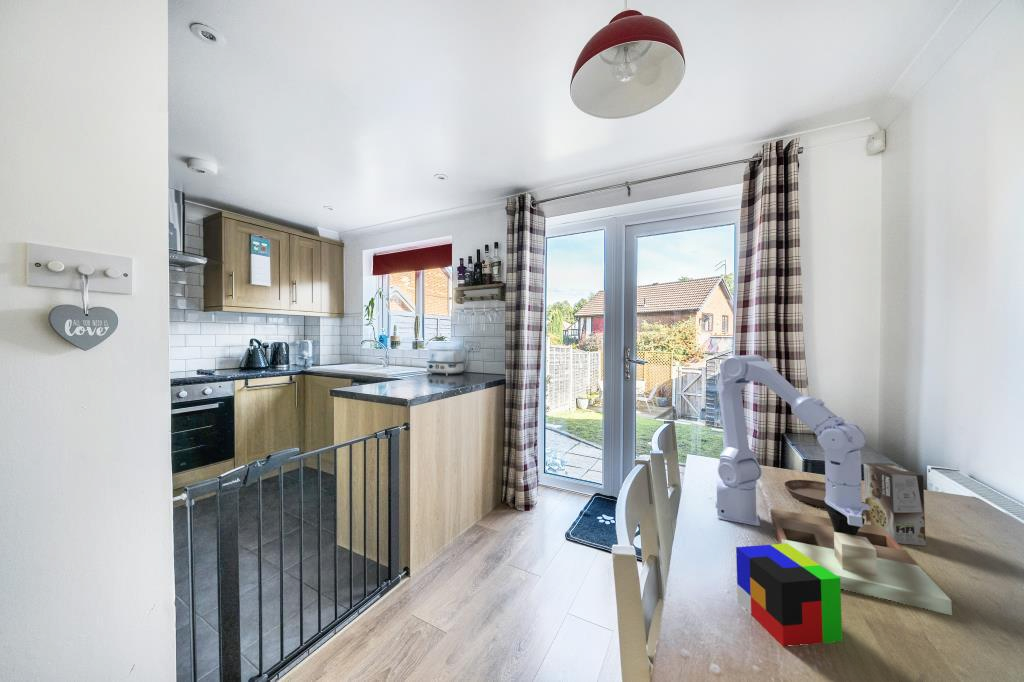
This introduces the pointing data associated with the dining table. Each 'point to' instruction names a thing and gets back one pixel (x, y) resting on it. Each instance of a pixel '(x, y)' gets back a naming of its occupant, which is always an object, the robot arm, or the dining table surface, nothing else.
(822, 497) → the plant saucer
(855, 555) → the block
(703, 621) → the dining table surface
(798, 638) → the puzzle toy
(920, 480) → the coffee box
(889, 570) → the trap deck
